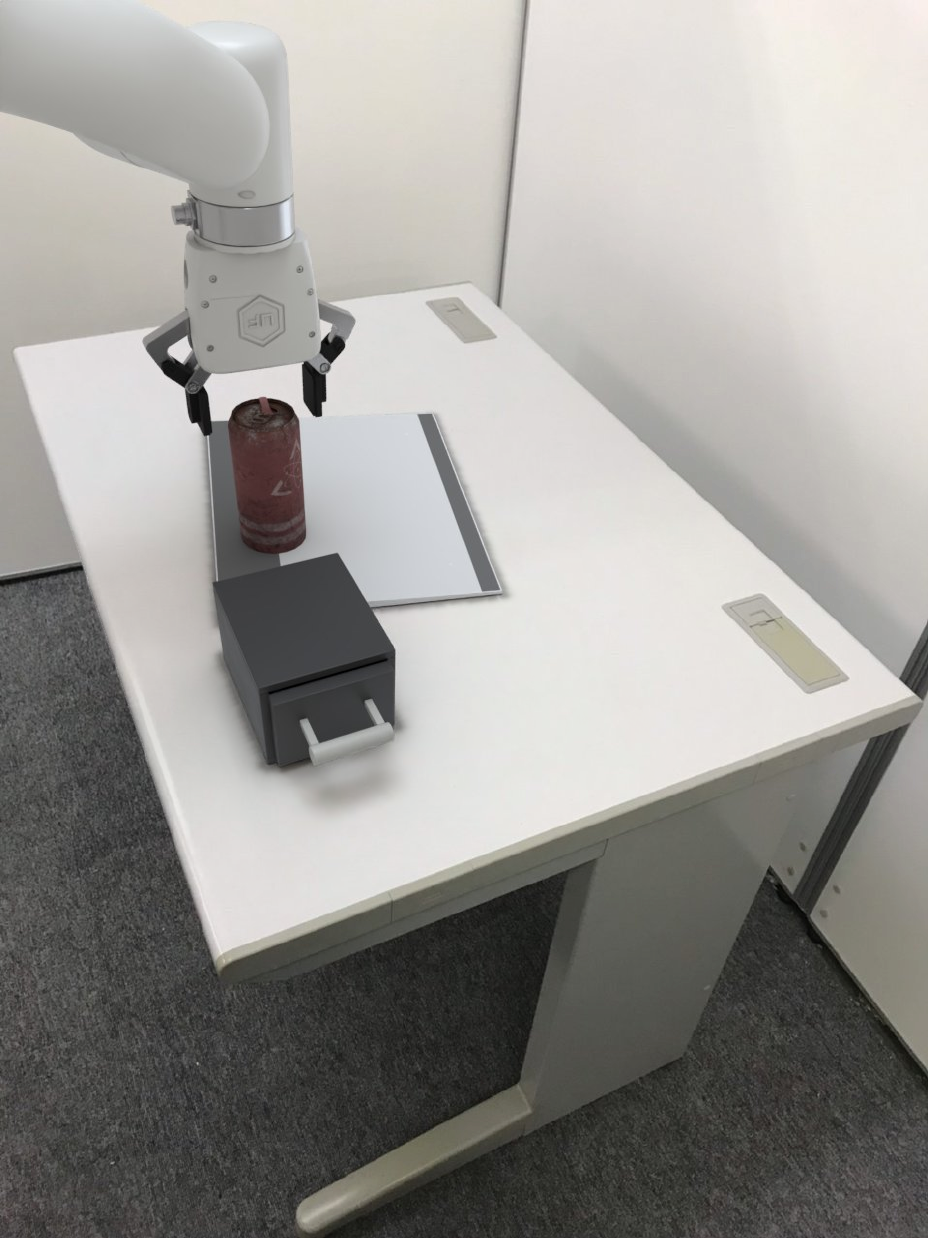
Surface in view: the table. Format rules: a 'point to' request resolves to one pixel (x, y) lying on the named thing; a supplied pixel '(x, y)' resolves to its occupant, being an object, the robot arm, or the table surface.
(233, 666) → the dark grey cabinet
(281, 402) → the can
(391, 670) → the drawer
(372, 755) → the table surface
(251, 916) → the table surface
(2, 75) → the robot arm
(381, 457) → the white grey flat panel
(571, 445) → the table surface
